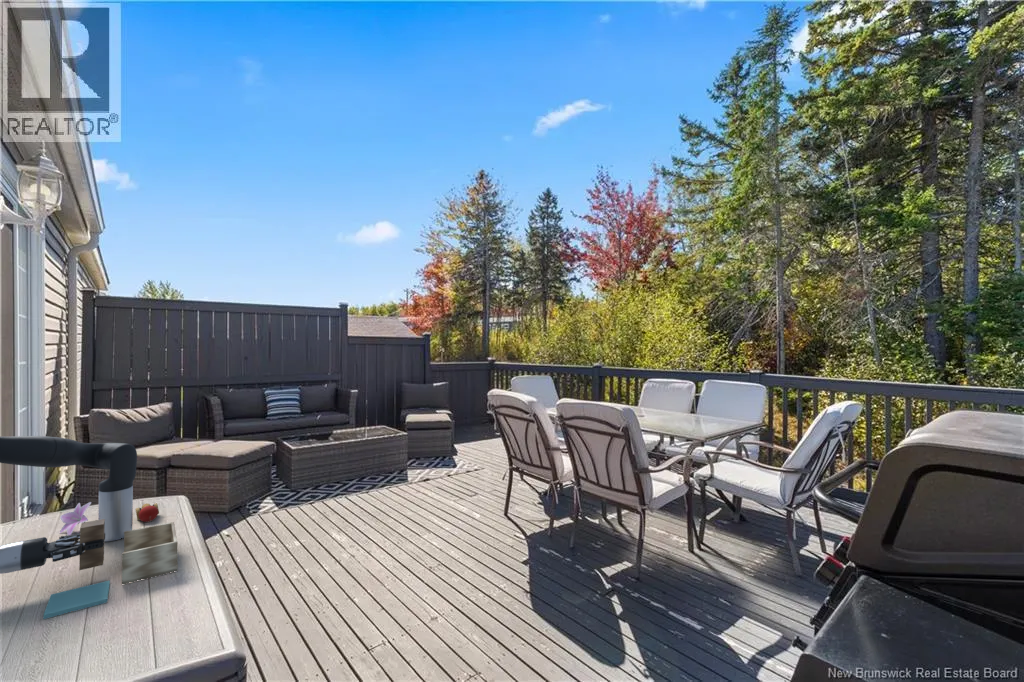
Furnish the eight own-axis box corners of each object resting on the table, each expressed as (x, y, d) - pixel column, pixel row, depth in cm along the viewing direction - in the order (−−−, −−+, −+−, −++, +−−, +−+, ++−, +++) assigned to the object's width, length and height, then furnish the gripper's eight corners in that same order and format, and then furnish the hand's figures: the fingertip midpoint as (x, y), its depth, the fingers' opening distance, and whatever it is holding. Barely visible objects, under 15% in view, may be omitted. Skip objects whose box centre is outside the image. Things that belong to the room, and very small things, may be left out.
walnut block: (79, 570, 130) (80, 528, 130) (81, 563, 134) (81, 522, 134) (102, 565, 133) (103, 524, 133) (103, 558, 137) (104, 518, 137)
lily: (61, 530, 170) (47, 512, 166) (100, 511, 178) (88, 493, 173) (66, 549, 163) (51, 531, 158) (106, 528, 170) (94, 510, 166)
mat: (43, 619, 114) (43, 615, 114) (50, 598, 124) (50, 594, 124) (107, 602, 122) (107, 598, 122) (109, 583, 131) (109, 580, 131)
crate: (121, 585, 130) (122, 553, 130) (124, 559, 146) (124, 531, 146) (177, 571, 138) (177, 541, 138) (173, 548, 154) (174, 521, 154)
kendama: (131, 516, 185) (133, 523, 172) (135, 500, 186) (137, 506, 173) (155, 515, 190) (159, 522, 177) (158, 499, 191) (163, 505, 178)
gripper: (15, 551, 119) (103, 534, 130) (26, 533, 130) (106, 519, 141) (15, 580, 119) (102, 561, 130) (26, 559, 130) (105, 543, 141)
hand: (104, 539), depth 135 cm, fingers closed on walnut block, 5 cm apart
